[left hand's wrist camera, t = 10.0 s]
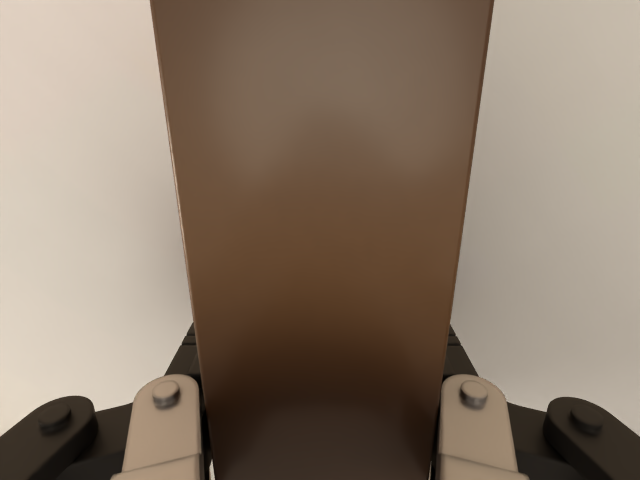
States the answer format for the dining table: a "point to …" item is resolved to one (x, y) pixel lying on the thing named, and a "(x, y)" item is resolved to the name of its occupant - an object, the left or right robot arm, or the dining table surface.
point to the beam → (321, 221)
